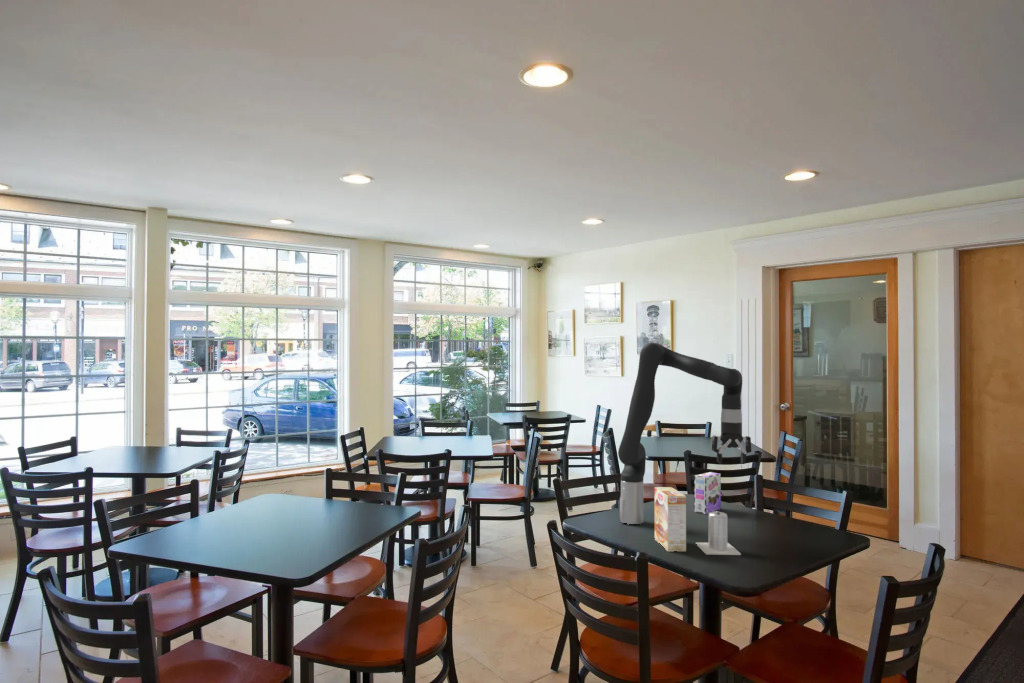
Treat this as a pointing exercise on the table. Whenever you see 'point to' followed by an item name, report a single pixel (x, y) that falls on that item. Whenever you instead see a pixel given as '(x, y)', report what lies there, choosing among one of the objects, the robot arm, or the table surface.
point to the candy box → (707, 492)
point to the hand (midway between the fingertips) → (731, 463)
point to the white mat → (708, 551)
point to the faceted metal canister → (717, 531)
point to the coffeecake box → (670, 518)
